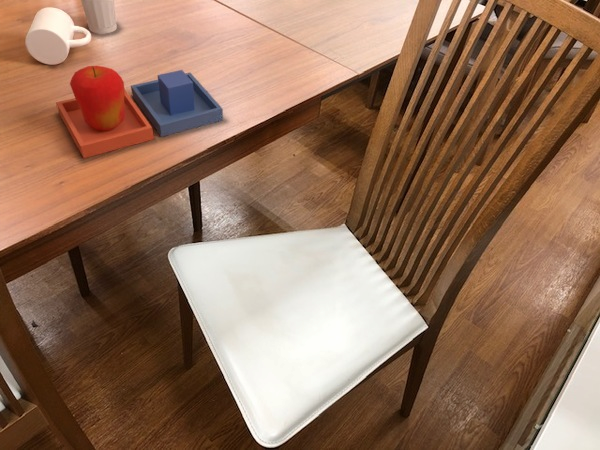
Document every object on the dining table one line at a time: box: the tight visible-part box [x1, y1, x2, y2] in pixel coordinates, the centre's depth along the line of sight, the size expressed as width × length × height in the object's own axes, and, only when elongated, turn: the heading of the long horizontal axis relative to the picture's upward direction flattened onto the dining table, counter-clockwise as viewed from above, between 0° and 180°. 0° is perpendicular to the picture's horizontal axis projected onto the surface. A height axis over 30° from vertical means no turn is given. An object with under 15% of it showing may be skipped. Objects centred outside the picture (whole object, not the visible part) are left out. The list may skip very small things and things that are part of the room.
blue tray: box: [130, 72, 224, 138], centre depth 99 cm, size 15×13×3 cm
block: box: [156, 69, 195, 115], centre depth 97 cm, size 5×5×6 cm
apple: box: [69, 65, 126, 132], centre depth 89 cm, size 9×8×12 cm
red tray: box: [56, 88, 155, 159], centre depth 93 cm, size 15×13×3 cm
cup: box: [80, 0, 118, 35], centre depth 115 cm, size 8×8×12 cm
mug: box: [24, 6, 92, 66], centre depth 107 cm, size 12×10×8 cm
